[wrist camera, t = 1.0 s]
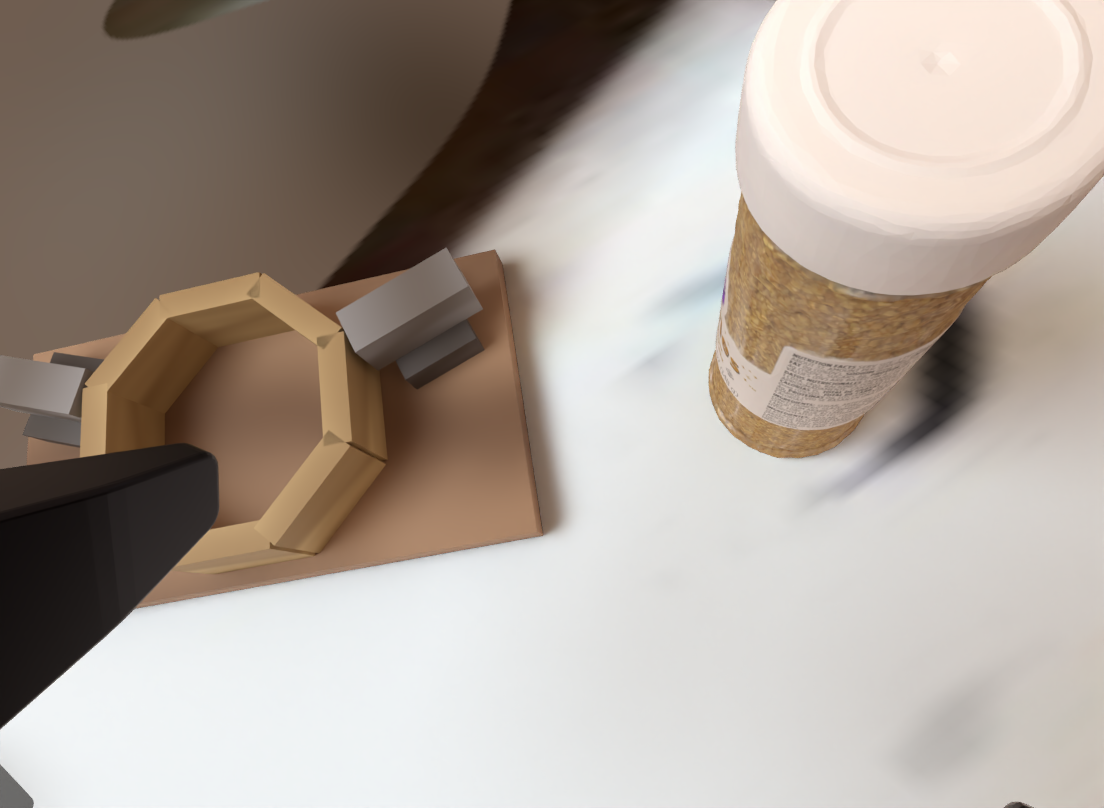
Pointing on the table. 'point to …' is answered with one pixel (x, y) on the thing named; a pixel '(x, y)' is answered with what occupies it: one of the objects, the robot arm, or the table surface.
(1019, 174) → the sprinkles bottle
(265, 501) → the stand
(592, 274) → the table surface
